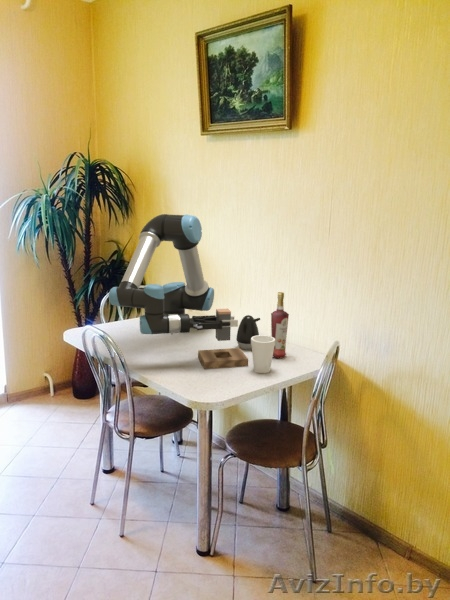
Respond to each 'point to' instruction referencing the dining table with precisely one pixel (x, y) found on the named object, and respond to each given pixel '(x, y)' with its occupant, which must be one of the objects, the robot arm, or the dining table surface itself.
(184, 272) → the robot arm
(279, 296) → the liquor
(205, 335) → the dining table surface
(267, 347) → the foam cup
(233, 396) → the dining table surface
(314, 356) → the dining table surface
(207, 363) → the socket plate
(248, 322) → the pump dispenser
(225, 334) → the grey tall block
